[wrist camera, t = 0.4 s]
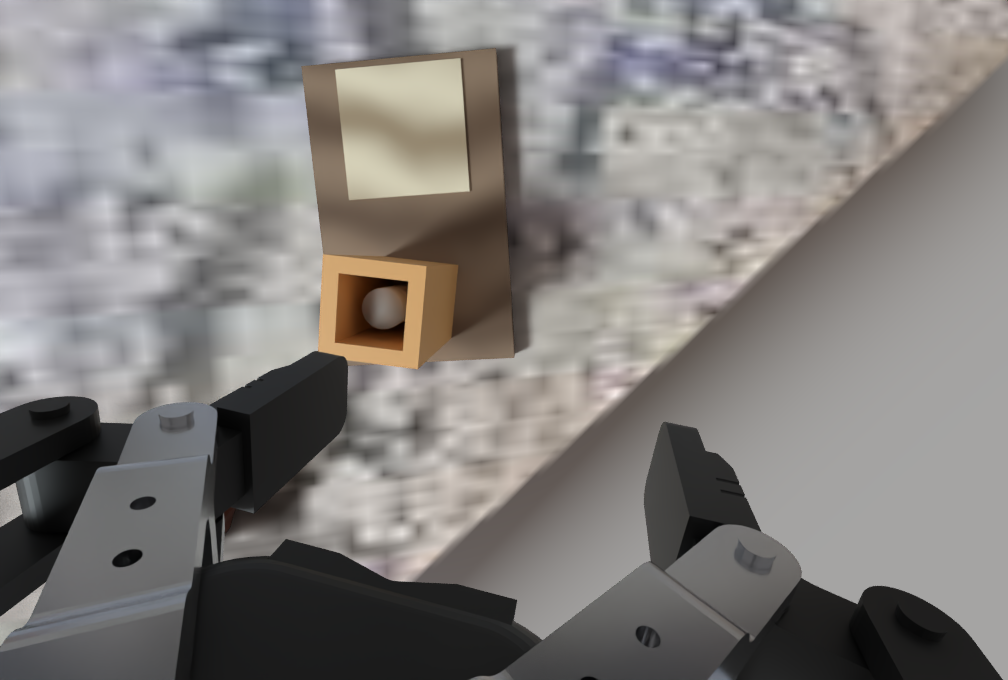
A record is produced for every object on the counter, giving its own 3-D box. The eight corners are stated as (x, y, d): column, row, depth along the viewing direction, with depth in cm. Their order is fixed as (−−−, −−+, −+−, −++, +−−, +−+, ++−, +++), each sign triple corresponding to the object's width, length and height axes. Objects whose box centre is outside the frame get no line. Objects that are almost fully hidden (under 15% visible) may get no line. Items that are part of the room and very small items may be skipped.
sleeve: (379, 329, 38) (317, 356, 27) (384, 256, 37) (323, 254, 26) (451, 338, 38) (417, 369, 27) (458, 264, 37) (426, 266, 26)
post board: (310, 74, 37) (222, 0, 26) (497, 57, 36) (482, -27, 25) (343, 362, 40) (277, 397, 30) (514, 353, 39) (507, 387, 29)
